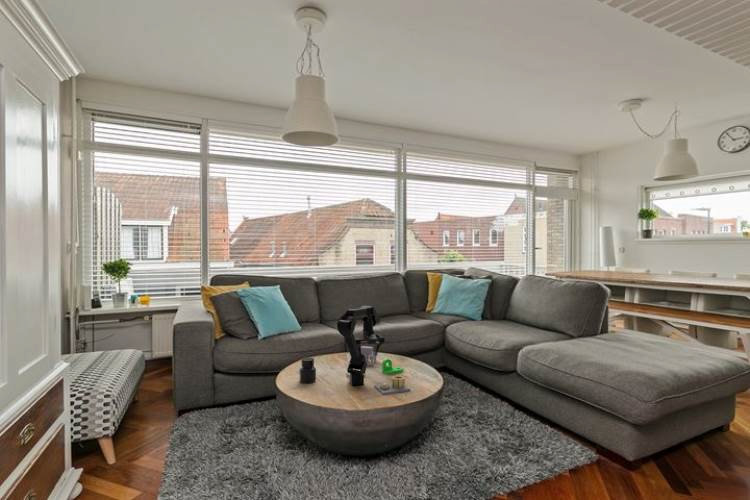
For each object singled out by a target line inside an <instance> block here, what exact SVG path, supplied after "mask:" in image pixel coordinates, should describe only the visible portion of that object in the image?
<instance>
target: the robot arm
mask: <svg viewBox="0 0 750 500" xmlns="http://www.w3.org/2000/svg"><path fill="white" fill-rule="evenodd" d="M339 317H340V318H339V319H338V321H337V323H336V328H337V331H338V333H339V334H340V335H341V336H343V338H344V340H345V344H346V347H347V350H348V352H349V356H350V359H349V364H348V367H347V369H346V372H347V374H349V379H350V380H349V382H348V384H350V386H351V387H352V388H353V387H355V388H356V387H363V386H365V383H364V382H365V379H364V378H365V376H364V374H366V372H367V365H368V364H367V363H366V362H367V361H366V359H365V354H361V346H362V345H361V344H363V343H367V344H368V345H372V344H373V345H374V352H375V355H377V356H378V352H379V349H380V346H381V345H383V344H385V343H386V338H385V337H384V336H382V335H380V333H377V334H375V330H374V327H375V326H379V325H380V324H381V318H380V316H378V313H377V310H376V308H375V306H373V305H362V306H360V308H353V309H350V308H349V309H347V310H346V312H345V313H344V314H343V315H342V316H339ZM357 317H362V319H361V322H362V336H361V338H362V339H361V338H358V337H355V335H354V332H355V329H356V325H357ZM349 318H352V320H348V319H349Z"/></svg>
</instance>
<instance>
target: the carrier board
mask: <svg viewBox="0 0 750 500" xmlns="http://www.w3.org/2000/svg"><path fill="white" fill-rule="evenodd" d="M373 388H375V389H376V390H377V391H378V392H379V393H380V394H381V395H383V396H384V395H389V394H390V395H391V394H399V393H404V392H410V391H411V388H410V387H408V386H407V385H405V387H404V388H393V387H392V382H388V383H379V384H374V387H373Z"/></svg>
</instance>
